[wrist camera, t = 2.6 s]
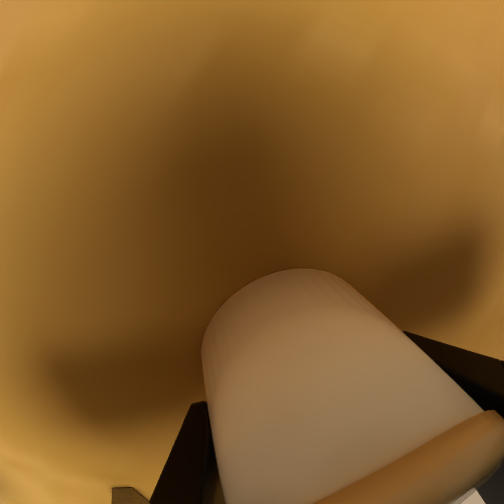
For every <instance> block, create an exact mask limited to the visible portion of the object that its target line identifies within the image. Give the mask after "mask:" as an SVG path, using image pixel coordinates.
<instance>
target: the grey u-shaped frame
mask: <svg viewBox="0 0 504 504" xmlns="http://www.w3.org/2000/svg"><path fill="white" fill-rule="evenodd" d="M112 504H150V503H149V501H148V500H147V499H145V498H144V497H143V496H142V495H140V494H139V493H138V492H137V491H135V490H134V489H133V488H112Z"/></svg>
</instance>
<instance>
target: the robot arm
mask: <svg viewBox="0 0 504 504" xmlns="http://www.w3.org/2000/svg"><path fill="white" fill-rule="evenodd" d="M402 332H403V333H404V334H405V335H406V336H407V337H408V338H409V339H411V340H412V341H413V342H414V343H415V344H416V345H417V346H418V347H419V348H420V349H421V350H422V351H423V352H424V353H425V354H427V355H428V356H429V357H430V358H431V359H432V360H433V361H434V362H435V363H436V364H437V365H438V366H439V367H440V368H441V369H442V370H443V371H444V372H445V373H446V374H447V375H448V376H449V377H450V378H451V379H453V380H454V381H455V382H456V383H457V384H458V385H459V386H460V387H461V388H462V389H463V390H464V391H465V392H466V393H467V394H468V395H469V396H470V397H471V398H472V399H473V400H474V401H475V402H476V403H477V404H478V405H479V406H480V407H481V408H482V409H483V410H484V411H488V410H495V411H496V412H497V413H498V414H499V415H500V416H501V417H502V418H503V419H504V361H503V360H501V361H500V360H499V359H495V358H492V357H488V356H485V355H482V354H478V353H475V352H471V351H468V350H465V349H461V348H458V347H455V346H451V345H448V344H445V343H442V342H438V341H435V340H432V339H429V338H425V337H422V336H419V335H416V334H413V333H409V332H406V331H402ZM477 491H478V493H479V494H480V496H481V497H482V499H483V500H484V502H485V503H486V504H504V463H503V464H502V465H501V466H500V467H499V468H498V470H497V471H496V472H495V473H494V474H493V475H492V476H491V477H490V478H489V479H488V480H487V481H486V482H485V483H484V484H483V485H481V486H480V487H479V488H478V489H477ZM149 503H150V504H225V501H224V496H223V491H222V486H221V481H220V476H219V471H218V466H217V460H216V455H215V449H214V443H213V437H212V431H211V425H210V419H209V412H208V406H207V402H206V401H200V402H196V403H192V404H191V406H190V408H189V410H188V412H187V415H186V417H185V419H184V422H183V424H182V426H181V429H180V431H179V433H178V436H177V438H176V440H175V443H174V445H173V447H172V450H171V452H170V454H169V457H168V459H167V461H166V464H165V466H164V468H163V471H162V473H161V475H160V478H159V480H158V482H157V485H156V487H155V489H154V491H153V494H152V496H151V498H150V501H149Z"/></svg>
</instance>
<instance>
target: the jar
mask: <svg viewBox="0 0 504 504" xmlns="http://www.w3.org/2000/svg"><path fill="white" fill-rule="evenodd" d="M201 361H202V369H203V377H204V384H205V392H206V399H207V406H208V412H209V419H210V425H211V431H212V437H213V443H214V449H215V455H216V460H217V466H218V471H219V476H220V481H221V486H222V491H223V496H224V501H225V504H461V503H462V502H463V501H464V500H465V499H467V498H468V497H469V496H470V495H471V494H473V493H474V492H475V491H476V490H477V489H478V488H479V487H480V486H481V485H483V484H484V483H485V482H486V481H487V480H488V479H489V478H490V477H491V476H492V475H493V474H494V473H495V472H496V471H497V470H498V468H499V467H500V466H501V465H502V464H503V463H504V419H503V418H502V417H501V416H500V415H499V414H498V413H497V412H496V411H495V410H488V411H484V410H483V409H482V408H481V407H480V406H479V405H478V404H477V403H476V402H475V401H474V400H473V399H472V398H471V397H470V396H469V395H468V394H467V393H466V392H465V391H464V390H463V389H462V388H461V387H460V386H459V385H458V384H457V383H456V382H455V381H454V380H453V379H451V378H450V377H449V376H448V375H447V374H446V373H445V372H444V371H443V370H442V369H441V368H440V367H439V366H438V365H437V364H436V363H435V362H434V361H433V360H432V359H431V358H430V357H429V356H428V355H427V354H425V353H424V352H423V351H422V350H421V349H420V348H419V347H418V346H417V345H416V344H415V343H414V342H413V341H412V340H411V339H409V338H408V337H407V336H406V335H405V334H404V333H403V332H402V331H401V330H400V329H399V328H398V327H396V326H395V325H394V324H393V323H392V322H391V321H390V320H389V319H388V318H387V317H386V316H384V315H383V314H382V313H381V312H380V311H379V310H378V309H377V308H376V307H374V306H373V305H372V304H371V303H370V302H369V301H368V300H367V299H365V298H364V297H363V296H362V295H361V294H360V293H359V292H358V291H356V290H355V289H354V288H353V287H352V286H351V285H350V284H349V283H347V282H346V281H344V280H343V279H342V278H340V277H338V276H336V275H334V274H332V273H329V272H326V271H323V270H317V269H307V268H298V269H289V270H283V271H279V272H275V273H272V274H269V275H266V276H263V277H261V278H259V279H257V280H255V281H253V282H251V283H249V284H247V285H246V286H244V287H243V288H241V289H240V290H238V291H237V292H236V293H235V294H233V295H232V296H231V297H230V298H228V299H227V300H226V301H225V303H224V304H223V305H222V306H221V307H220V308H219V309H218V310H217V312H216V313H215V314H214V316H213V317H212V319H211V321H210V323H209V324H208V326H207V328H206V331H205V334H204V336H203V341H202V346H201Z"/></svg>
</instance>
